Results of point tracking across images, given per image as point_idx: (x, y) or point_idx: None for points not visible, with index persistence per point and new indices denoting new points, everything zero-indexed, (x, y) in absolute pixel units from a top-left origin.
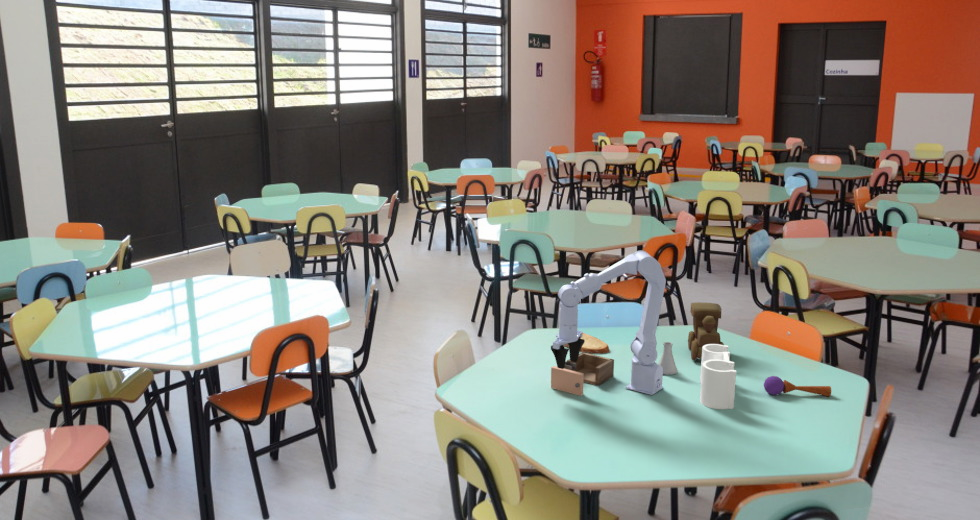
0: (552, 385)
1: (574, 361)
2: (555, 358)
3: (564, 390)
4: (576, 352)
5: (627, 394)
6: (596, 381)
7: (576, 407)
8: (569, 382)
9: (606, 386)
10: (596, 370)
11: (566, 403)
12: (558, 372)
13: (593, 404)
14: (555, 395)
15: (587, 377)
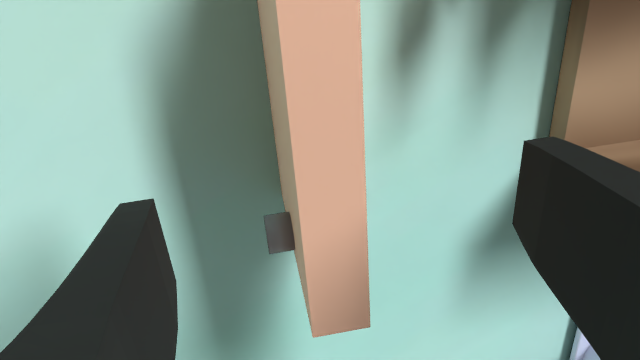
0: None
1: (517, 205)
2: (33, 321)
3: (263, 44)
4: (607, 336)
5: (501, 351)
6: None
7: None
8: (281, 144)
9: None
10: None
11: (63, 221)
12: (275, 28)
13: (218, 335)
14: (112, 44)
15: (638, 38)
